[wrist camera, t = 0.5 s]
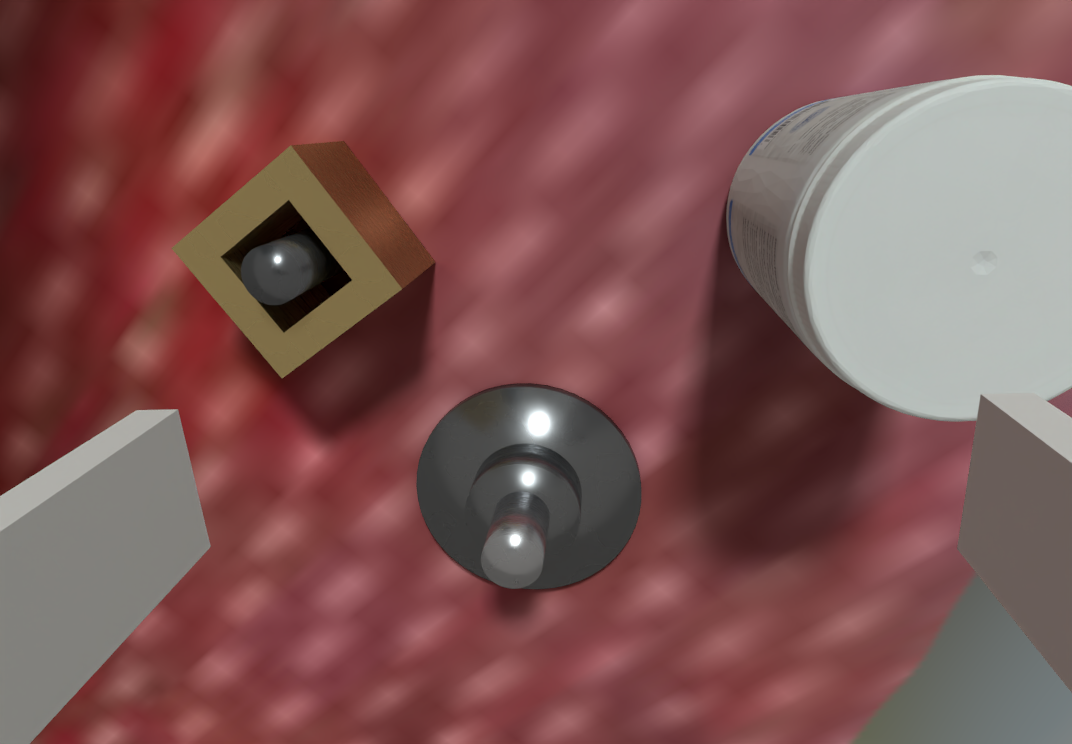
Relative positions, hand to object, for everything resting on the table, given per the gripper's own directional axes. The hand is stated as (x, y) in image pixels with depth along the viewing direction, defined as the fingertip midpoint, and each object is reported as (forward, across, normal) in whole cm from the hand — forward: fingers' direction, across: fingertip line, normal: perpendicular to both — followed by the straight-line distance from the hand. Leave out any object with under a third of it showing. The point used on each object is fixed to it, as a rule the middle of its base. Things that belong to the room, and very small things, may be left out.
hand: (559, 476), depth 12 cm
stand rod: (+24, -12, 0) cm, 27 cm away
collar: (+24, -12, 0) cm, 27 cm away
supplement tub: (+24, +11, +1) cm, 27 cm away
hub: (+24, -4, -13) cm, 28 cm away
